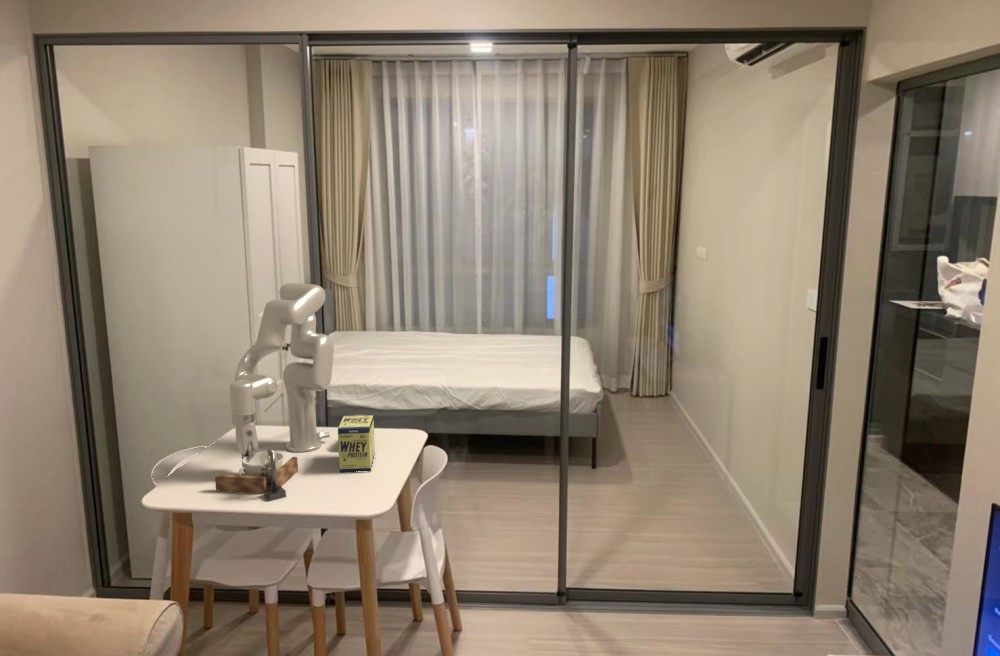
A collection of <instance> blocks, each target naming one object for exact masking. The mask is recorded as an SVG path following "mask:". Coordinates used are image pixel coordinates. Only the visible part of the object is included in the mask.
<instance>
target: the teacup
mask: <svg viewBox="0 0 1000 656" xmlns="http://www.w3.org/2000/svg"><path fill="white" fill-rule="evenodd" d="M264 452H265V451H260V452H259V451H258V452H255V453H254V452H253V458H250V459H248V456H246V457H244V458H243V459H241V465H242V464H243V467H242V466H241V467H240V469H239V470H238V475H242V472H244V471H245V472H244V473H245V476H262V477H266V485H268V484H272V479H271V468H267V467H264V466H263V465H262V464H261V462H260V458H261V455H262V454H263V453H264ZM276 453H277V455H278V462H277V463H276V465H275V466H276V471H277V470H278V469H279V468H281V466H283V463H284V461H283V460H284V455H283V454H282V453H279V452H276ZM243 470H244V471H243Z"/></svg>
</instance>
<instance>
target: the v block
mask: <svg viewBox="0 0 1000 656" xmlns="http://www.w3.org/2000/svg"><path fill="white" fill-rule="evenodd" d="M298 471H299V463H298V456H292V457H291V458H289V459H288V460H287V461H286V462H285V463H284V464H282V466H281V468H279V469H278V470H277V471H276V481H277V486H281V487H282V488H283V486H284V485H285V484H286V483H287V482H288V481H289V480H291V479H292V477H294V476H295V475H296V474H297V473H298ZM271 479H272V478H271ZM214 482H215V492H220V491H232V492H231V493H238V492H243V493H244V494H256V495H257V494H259V495H260V494H261V495H264V489H268V488H267V484H266V477H262V476H247V475H242V474H241V475H239V474H222V473H221V474H218V473H217V474H216V475H214ZM218 490H219V491H218Z"/></svg>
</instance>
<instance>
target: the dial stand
mask: <svg viewBox="0 0 1000 656" xmlns="http://www.w3.org/2000/svg"><path fill="white" fill-rule="evenodd" d="M263 452H264V453H263V454H262V455H261V458H260V462H261V464H262V465H263V466H264V467H267V468H271V478H272V482H271V487H268V488H267V489H264V494H263V496H264V497H265V498H266V499H267V500H268V501H269V502H271V501H275V500H280V499H283V498H287V493H286V492H287V491H286V490H285V489H284V488H283V486H282V487H281V486H277V481H276V466H275V465H276V463H277V462H278V455H277V453H278V452H276V451H275V450H272V449H266V450H265V451H263Z"/></svg>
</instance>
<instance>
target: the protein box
mask: <svg viewBox="0 0 1000 656" xmlns="http://www.w3.org/2000/svg"><path fill="white" fill-rule="evenodd" d="M374 419H375V418H374V414H372V413H371V414H344V415H343V417H342V419H341V421H340V423H339V425H338V427H337V440H338V441H337V442H338V461H339V462H338V463H339V473H340V474H346V473H347V472H351V473H359V472H358V471H371V472H372V469H371V467H373V465H372V464H374V462H373V459H374V460H375V458H374V455H375V456H376V451H375V450H376V449H375V448H376V447H375V423H374V422H375V420H374ZM356 471H357V472H356ZM345 472H346V473H345Z"/></svg>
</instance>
